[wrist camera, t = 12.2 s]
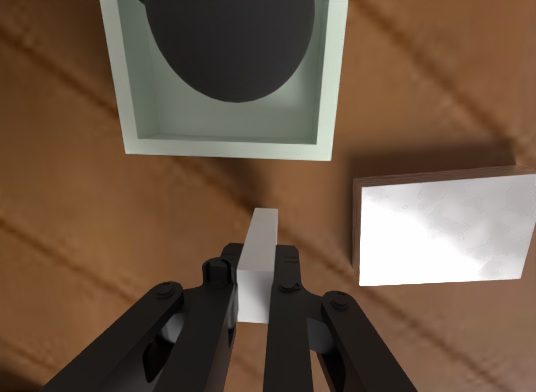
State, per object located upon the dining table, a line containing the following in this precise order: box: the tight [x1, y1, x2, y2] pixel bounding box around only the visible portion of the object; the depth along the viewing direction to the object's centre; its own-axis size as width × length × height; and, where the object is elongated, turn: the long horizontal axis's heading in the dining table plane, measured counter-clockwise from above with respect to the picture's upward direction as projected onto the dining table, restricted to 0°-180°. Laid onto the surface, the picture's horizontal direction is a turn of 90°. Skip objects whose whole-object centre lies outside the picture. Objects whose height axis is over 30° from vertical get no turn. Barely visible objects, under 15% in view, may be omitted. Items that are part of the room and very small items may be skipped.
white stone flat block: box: [352, 165, 536, 285], centre depth 16 cm, size 10×7×2 cm
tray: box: [100, 0, 348, 161], centre depth 13 cm, size 11×11×3 cm
